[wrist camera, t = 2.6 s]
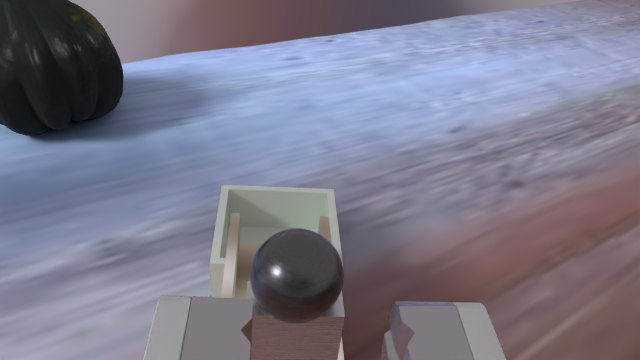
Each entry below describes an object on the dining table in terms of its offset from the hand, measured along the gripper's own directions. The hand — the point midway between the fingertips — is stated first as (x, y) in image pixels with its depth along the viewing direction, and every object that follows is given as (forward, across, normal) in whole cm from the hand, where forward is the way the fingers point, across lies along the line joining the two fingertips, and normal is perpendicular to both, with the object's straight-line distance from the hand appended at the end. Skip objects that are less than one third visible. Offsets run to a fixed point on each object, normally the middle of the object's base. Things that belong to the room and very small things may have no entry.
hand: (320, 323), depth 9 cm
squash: (+48, +24, +24) cm, 59 cm away
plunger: (+6, 0, +18) cm, 18 cm away
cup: (+26, 0, +24) cm, 35 cm away
